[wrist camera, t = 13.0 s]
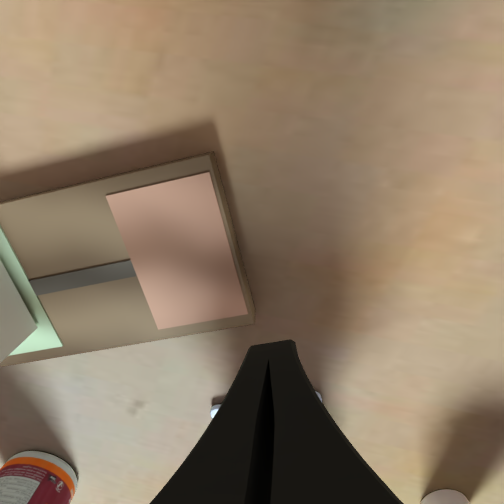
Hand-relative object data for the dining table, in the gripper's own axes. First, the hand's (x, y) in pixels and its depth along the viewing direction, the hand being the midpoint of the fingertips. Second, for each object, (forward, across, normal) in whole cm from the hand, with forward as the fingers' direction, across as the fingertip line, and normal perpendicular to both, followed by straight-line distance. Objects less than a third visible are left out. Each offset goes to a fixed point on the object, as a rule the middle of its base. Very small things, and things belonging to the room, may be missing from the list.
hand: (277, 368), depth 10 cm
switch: (+10, +13, -1) cm, 17 cm away
